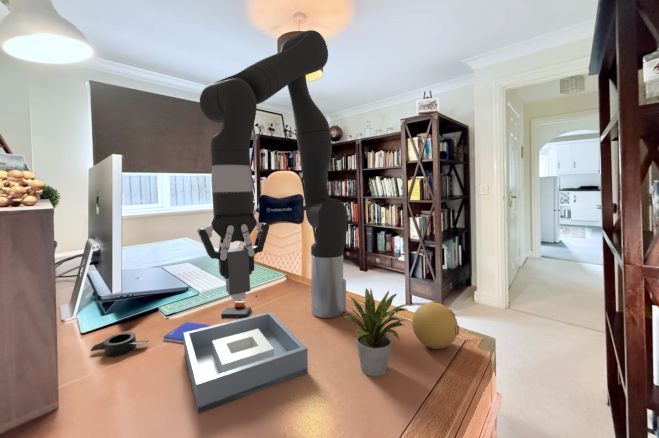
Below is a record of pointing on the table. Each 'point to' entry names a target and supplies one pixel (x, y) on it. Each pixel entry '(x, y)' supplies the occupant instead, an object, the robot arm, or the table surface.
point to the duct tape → (118, 344)
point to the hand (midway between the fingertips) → (237, 275)
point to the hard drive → (178, 332)
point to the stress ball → (435, 325)
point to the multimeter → (237, 310)
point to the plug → (238, 273)
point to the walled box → (241, 358)
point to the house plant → (375, 333)
